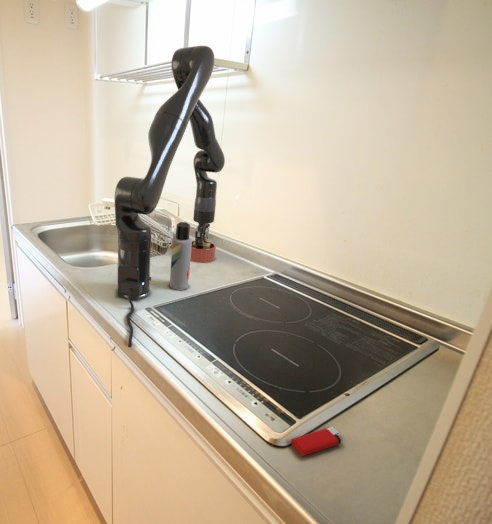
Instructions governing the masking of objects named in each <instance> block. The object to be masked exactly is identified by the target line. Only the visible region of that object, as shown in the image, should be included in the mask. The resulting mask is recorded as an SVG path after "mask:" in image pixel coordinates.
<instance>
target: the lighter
mask: <svg viewBox="0 0 492 524" xmlns="http://www.w3.org/2000/svg"><path fill="white" fill-rule="evenodd" d="M340 435H341V434H340V432H339V431H338V430H337V429H336V428H335V427H333V426H329V427H326V428H323V429H319V430H317V431H313V432H310V433H307V434H304V435H300V436H297V437H294V438H291V439H290V442H291V446H292V447H293V448H294V449H295V450H296V451H297V452H298V453H299V455H300V456H302V457H305V456H308V455H311V454H313V453H316V452H319V451H322V450H325V449H329V448H331V447H335V446H337V445H340V444H341V442H342V439H341V438H340V437H339V436H340Z"/></svg>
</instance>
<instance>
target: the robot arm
mask: <svg viewBox="0 0 492 524" xmlns="http://www.w3.org/2000/svg"><path fill="white" fill-rule="evenodd" d="M170 64H171V65H170V66H171V72H172V73H171V74H172V77H173V81H174V83H175V86H176V88H177V90H176V91H175V92H174V93H173V94H172V95H171V96H170V97H169V98H168V99H166V101H164V102H163V104H161V105H160V107H159V108H158V109H157V111H156V112H155V115H154V116H153V120H152V122H151V124H150V126H149V129H148V132H147V140H148V146H149V151H150V163H149V164H150V165H149V167H148V170H147V173H146V175H145V176H144V178H143V177H135V176H123V177H121V178H120V179H119V180H118V182H117V183H116V186H115V190H114V199H113V200H114V217H115V219H114V220H115V227H116V230H117V235H118V236H117V297H119V298H124V299H128V303H129V304H130V312H129V313H127V315H126V322H127V325H128V327H129V335H128V341H127V342H128V343H127V344H128V345H127V347H128V349H129V348H132V343H133V335H134V328H133V324H132V322H131V319H130V317H131V315H132V314H133V313H134V311H135V305H134V303H133V301H132V300H134V301H138V300H140V299H144V298H146V297H148V296H149V295H150V290H151V289H150V282H152V277H151V252H152V251H151V250H152V227H151V226H150V225H149V223H146V222H145V221H144V220H143V219H142V217H141V216H140V215H144V216H145V215H151V214H152V213H153V212H154V211H155V210H156V208H157V207H158V204H159V203H160V200H161V196H162V194H163V190H164V187H165V184H166V180H167V177H168V174H169V170H170V169H171V165H172V163H173V160H174V157H175V155H176V153H177V150H178V148H179V146H180V143H181V142H182V139H183V137H184V135H185V132H186V130H187V128H188V124H189V123H190V128H191V132H192V133H191V134H192V137H193V142H194V145H195V148H197V149H199V150H198V151H197V152H196V153H195V155H194V157H193V162H192V163H193V170H194V176H195V182H196V189H195V190H196V191H195V199H194V205H193V206H194V207H193V217H192V219H193V222H195V223H197V224H198V225H197V226H196V230H195V232H194V233H195V234H194V239H195V240H194V241H195V245H197V249H203V245H204V243H206V242H208V239H209V233H210V228H211V224H212V223H214V222H215V217H216V216H215V214H216V207H217V206H216V205H217V188H218V182H217V180H216V179H214V178H211V177H209V175H208V173H215V174H216V173H220V172H221V171H222V170H223V169H224V167H225V163H226V159H225V153H224V152H223V150H222V147H221V146H220V144H219V141H218V139H217V137H216V131H215V125H214V121H213V117H212V115H211V113H210V112H209V110H208V109H207V108H206V106H205V105H204V104H203V103H202V101H201V99H200V98H201V96H202V94H203V92H204V91H205V89H206V87H207V85H208V83H209V81H210V79H211V78H212V77H211V76H212V75H213V72H214V69H215V53H214V51H213V49H212V48H211V47H210V46H208V45H195V46H187V47H181V48H178V49H176V50H175V51H174V53H173V55H172V57H171V63H170ZM199 241H201V243H200V242H199Z"/></svg>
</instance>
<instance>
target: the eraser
mask: <svg viewBox="0 0 492 524" xmlns="http://www.w3.org/2000/svg"><path fill="white" fill-rule="evenodd" d="M200 243H201V242H200ZM211 243H212V242H211ZM211 243H204V245H203V249H210V245H211ZM192 247H193V248H197V245H195V242H194V243H193V245H192Z"/></svg>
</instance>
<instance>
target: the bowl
mask: <svg viewBox="0 0 492 524" xmlns="http://www.w3.org/2000/svg"><path fill="white" fill-rule="evenodd" d="M194 242H195V240H192V245H193V243H194ZM199 242H201V241H199ZM206 243H211V245H210V249H197V248H193V247H192V246H191V259H190V262H191V261H192V262H196V263H210V262H211V263H212V262H213V261H215V257H216V250H217V249H216V248H217V246H216V244H215V243H214V242H210V241H207V242H206Z"/></svg>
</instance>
